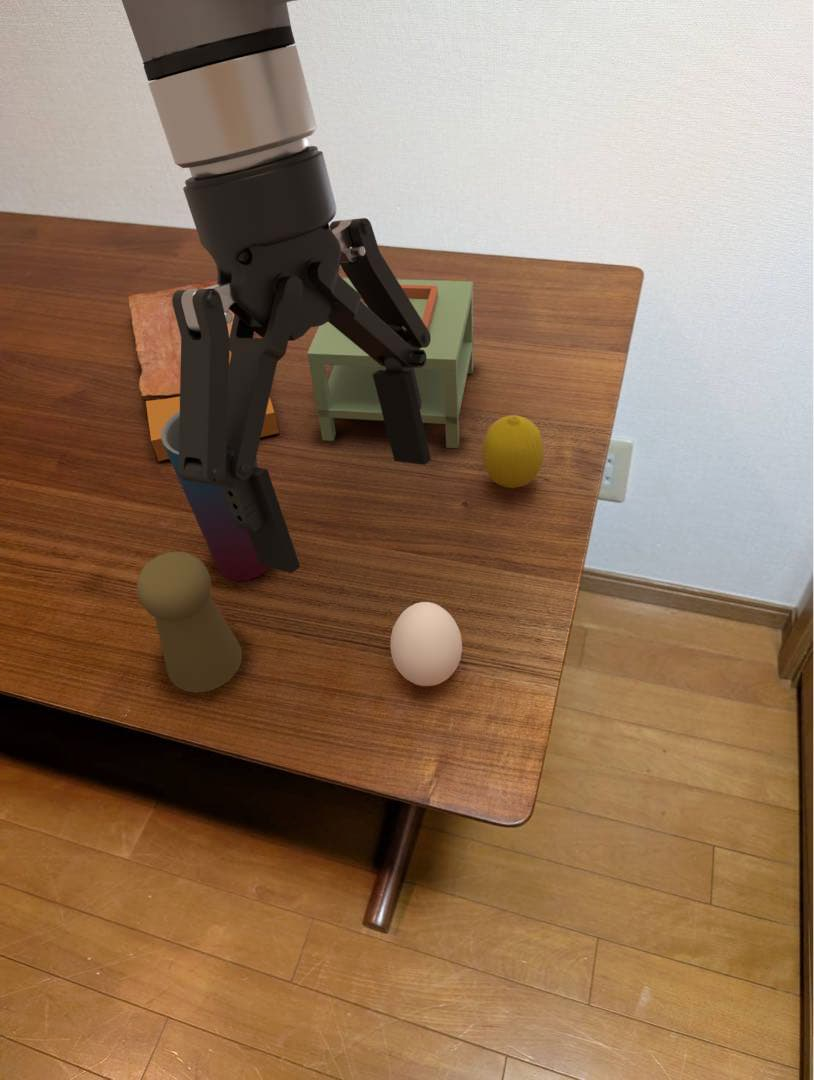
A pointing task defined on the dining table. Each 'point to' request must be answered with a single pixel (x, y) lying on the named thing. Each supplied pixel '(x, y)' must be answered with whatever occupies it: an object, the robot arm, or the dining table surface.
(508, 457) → the lemon
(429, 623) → the egg
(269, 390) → the robot arm
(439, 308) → the green side table
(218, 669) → the cork
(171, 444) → the cup
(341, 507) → the dining table surface
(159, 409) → the salmon fillet board
